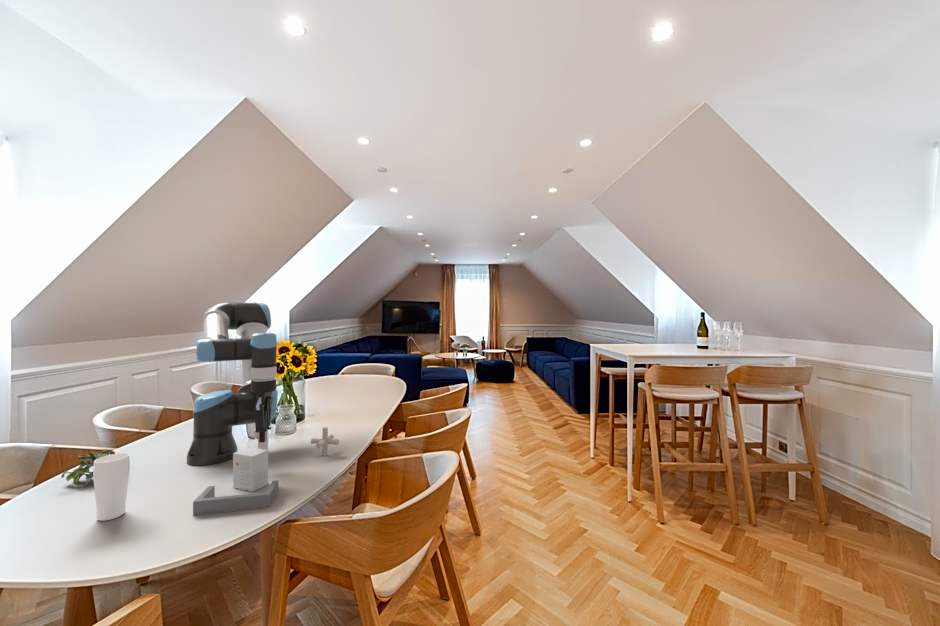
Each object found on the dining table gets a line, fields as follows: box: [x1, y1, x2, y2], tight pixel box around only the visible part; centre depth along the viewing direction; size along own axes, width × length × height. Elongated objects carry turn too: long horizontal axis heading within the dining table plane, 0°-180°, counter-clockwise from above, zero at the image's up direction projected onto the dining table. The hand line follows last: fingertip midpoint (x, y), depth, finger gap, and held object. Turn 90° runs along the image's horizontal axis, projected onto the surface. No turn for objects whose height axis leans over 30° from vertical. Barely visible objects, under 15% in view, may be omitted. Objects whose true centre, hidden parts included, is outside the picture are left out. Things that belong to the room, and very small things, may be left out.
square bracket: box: [192, 479, 279, 516], centre depth 103 cm, size 18×9×4 cm, turn 103°
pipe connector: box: [310, 426, 340, 457], centre depth 139 cm, size 10×10×10 cm
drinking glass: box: [92, 452, 131, 522], centre depth 96 cm, size 7×7×15 cm
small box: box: [232, 447, 269, 493], centre depth 114 cm, size 8×6×10 cm
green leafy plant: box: [60, 448, 117, 488], centre depth 116 cm, size 11×11×12 cm
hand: (263, 450), depth 124 cm, fingers closed
